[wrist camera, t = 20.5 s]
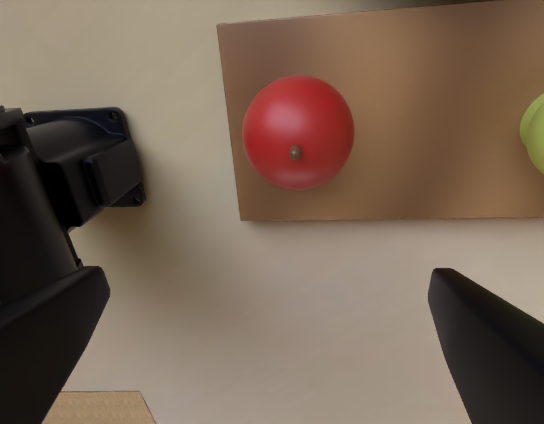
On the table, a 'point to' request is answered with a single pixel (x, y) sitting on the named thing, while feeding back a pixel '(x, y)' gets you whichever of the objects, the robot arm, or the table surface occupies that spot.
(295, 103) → the apple
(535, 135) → the pear
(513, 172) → the cutting board
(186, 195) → the table surface
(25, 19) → the table surface
